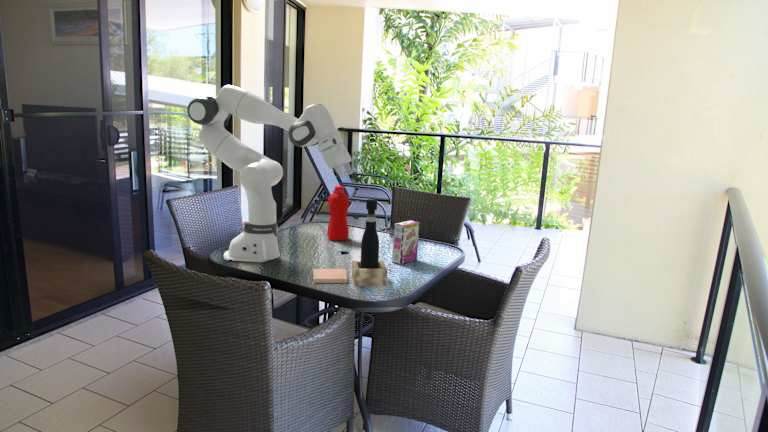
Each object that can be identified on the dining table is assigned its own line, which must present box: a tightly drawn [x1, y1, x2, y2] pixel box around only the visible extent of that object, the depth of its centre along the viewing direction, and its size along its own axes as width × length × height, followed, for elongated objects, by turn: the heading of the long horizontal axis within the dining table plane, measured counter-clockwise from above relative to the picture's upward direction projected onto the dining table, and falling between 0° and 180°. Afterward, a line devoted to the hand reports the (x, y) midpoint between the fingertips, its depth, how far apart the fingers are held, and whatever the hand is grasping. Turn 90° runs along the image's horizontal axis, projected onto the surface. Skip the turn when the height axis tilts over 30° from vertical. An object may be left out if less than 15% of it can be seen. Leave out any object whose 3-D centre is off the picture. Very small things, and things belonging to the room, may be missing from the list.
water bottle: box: [324, 185, 350, 242], centre depth 267 cm, size 9×11×25 cm
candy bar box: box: [391, 220, 420, 265], centre depth 236 cm, size 11×5×16 cm, turn 141°
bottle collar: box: [351, 260, 388, 287], centre depth 210 cm, size 12×12×6 cm
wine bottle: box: [360, 198, 380, 269], centre depth 208 cm, size 6×6×30 cm
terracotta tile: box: [312, 268, 348, 284], centre depth 213 cm, size 12×12×2 cm
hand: (346, 175), depth 222 cm, fingers open, 8 cm apart
